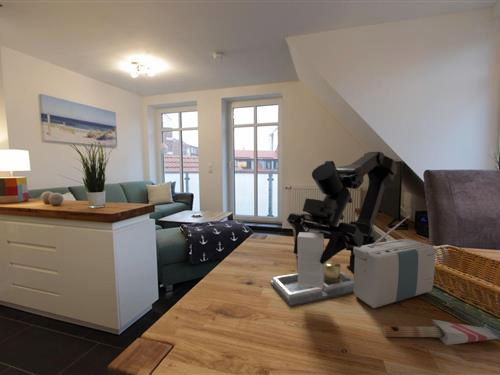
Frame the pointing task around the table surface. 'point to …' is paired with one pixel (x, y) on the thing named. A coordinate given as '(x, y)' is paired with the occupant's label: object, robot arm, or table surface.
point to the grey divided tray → (298, 294)
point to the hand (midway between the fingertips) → (307, 258)
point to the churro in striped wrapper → (442, 332)
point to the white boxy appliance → (393, 270)
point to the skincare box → (310, 259)
